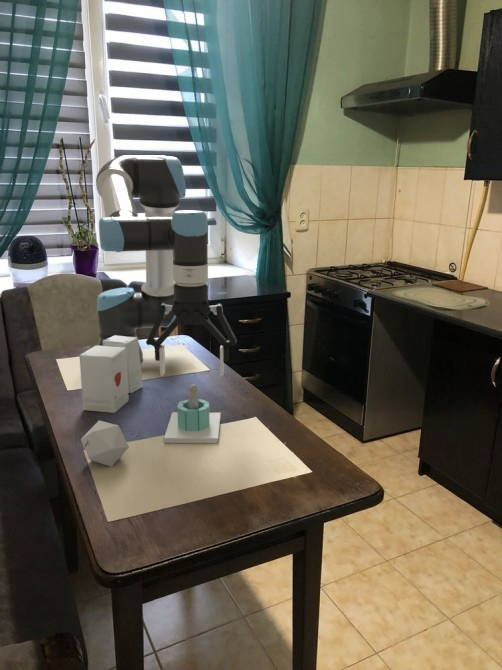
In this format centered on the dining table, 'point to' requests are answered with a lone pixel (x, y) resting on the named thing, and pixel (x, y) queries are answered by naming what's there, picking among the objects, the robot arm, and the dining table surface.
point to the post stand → (201, 436)
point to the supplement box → (104, 378)
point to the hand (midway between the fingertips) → (192, 373)
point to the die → (104, 443)
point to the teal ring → (193, 416)
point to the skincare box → (129, 359)
